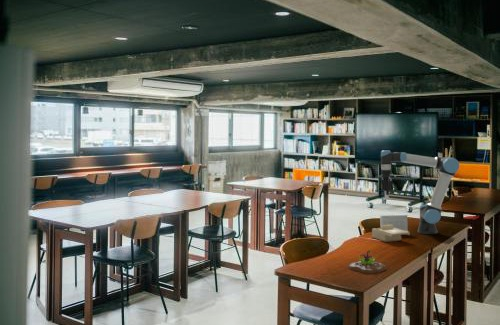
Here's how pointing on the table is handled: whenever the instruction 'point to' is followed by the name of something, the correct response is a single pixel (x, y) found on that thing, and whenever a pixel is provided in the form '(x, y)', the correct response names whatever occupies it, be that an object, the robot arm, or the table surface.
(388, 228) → the lid
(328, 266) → the table surface
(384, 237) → the mailer base
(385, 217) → the skincare box
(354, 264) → the plant
